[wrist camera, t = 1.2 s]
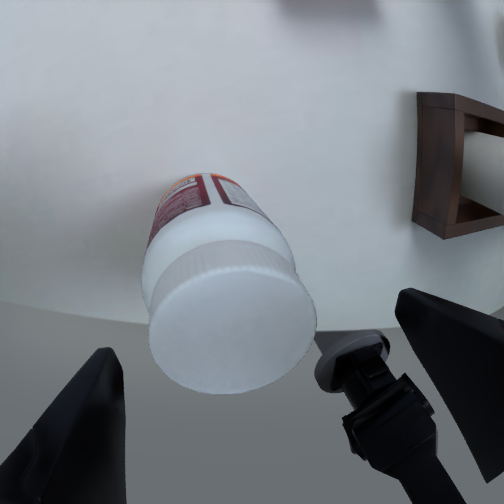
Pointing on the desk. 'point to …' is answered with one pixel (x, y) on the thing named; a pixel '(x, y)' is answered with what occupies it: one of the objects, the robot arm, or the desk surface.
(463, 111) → the rack
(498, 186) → the pill bottle
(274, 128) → the desk surface
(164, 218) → the pill bottle
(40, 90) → the desk surface
